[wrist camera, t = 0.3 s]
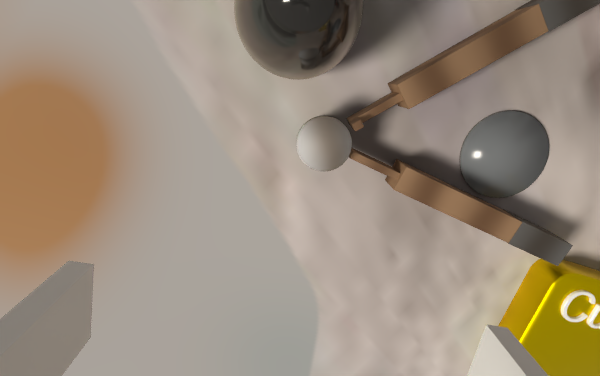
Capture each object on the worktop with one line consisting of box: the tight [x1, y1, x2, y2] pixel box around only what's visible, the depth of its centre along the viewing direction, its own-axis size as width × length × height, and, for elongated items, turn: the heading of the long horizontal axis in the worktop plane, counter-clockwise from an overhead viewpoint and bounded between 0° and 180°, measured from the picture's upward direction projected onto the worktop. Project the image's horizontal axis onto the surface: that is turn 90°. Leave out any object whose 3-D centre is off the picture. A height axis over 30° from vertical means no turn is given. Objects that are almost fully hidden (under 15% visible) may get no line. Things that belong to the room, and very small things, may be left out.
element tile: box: [499, 259, 600, 376], centre depth 44 cm, size 15×15×5 cm
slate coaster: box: [460, 111, 549, 198], centre depth 40 cm, size 9×9×1 cm
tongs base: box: [349, 148, 573, 266], centre depth 39 cm, size 29×4×4 cm, turn 65°
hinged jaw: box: [297, 0, 600, 171], centre depth 34 cm, size 29×5×5 cm, turn 120°
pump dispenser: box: [234, 0, 363, 80], centre depth 28 cm, size 10×10×15 cm
